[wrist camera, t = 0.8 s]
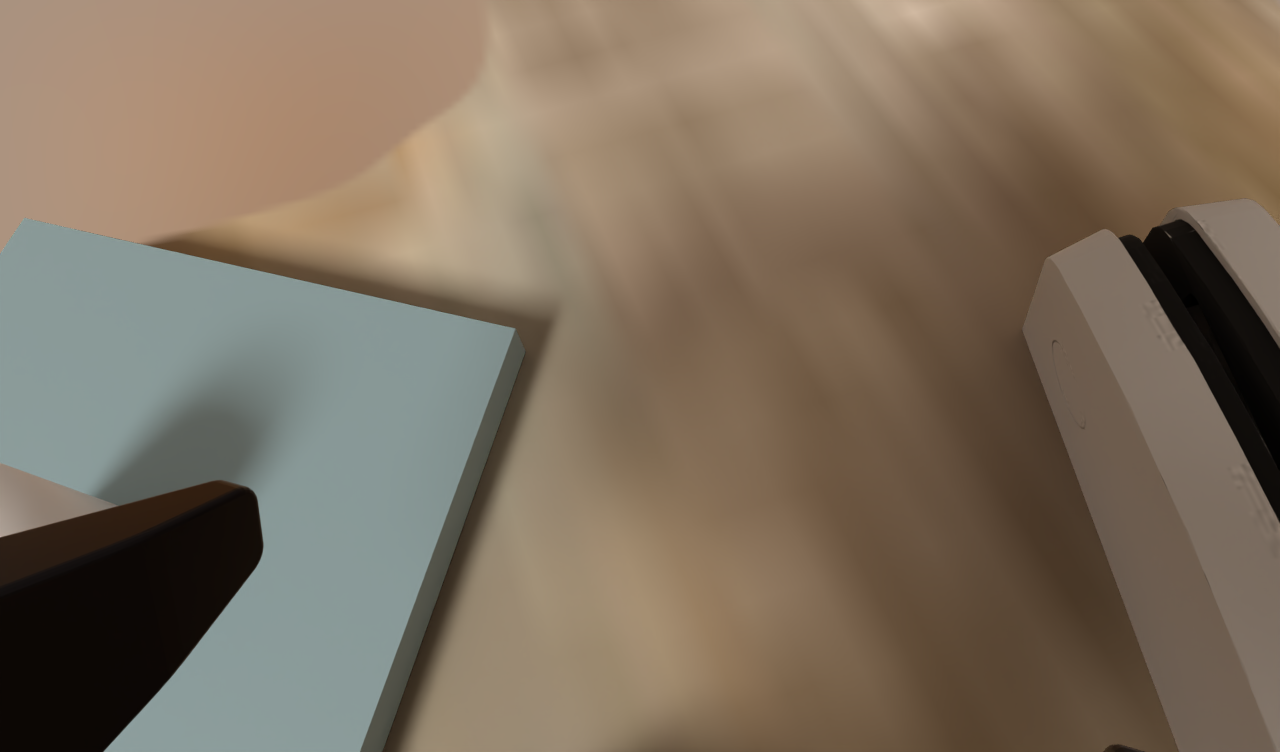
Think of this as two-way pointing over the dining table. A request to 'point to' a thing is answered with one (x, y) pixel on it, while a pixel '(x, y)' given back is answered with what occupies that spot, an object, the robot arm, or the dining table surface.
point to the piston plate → (255, 464)
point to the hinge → (1180, 449)
